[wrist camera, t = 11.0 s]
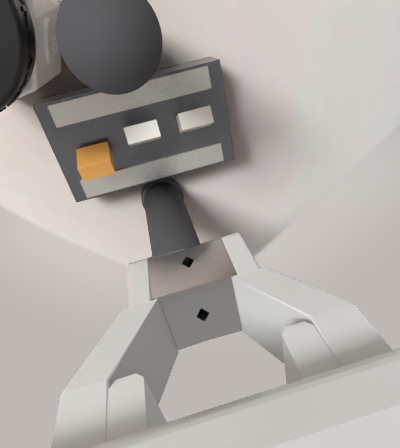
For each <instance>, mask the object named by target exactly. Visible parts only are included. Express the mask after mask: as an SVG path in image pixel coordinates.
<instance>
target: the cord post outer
mask: <svg viewBox="0 0 400 448" xmlns="http://www.w3.org/2000/svg"><path fill="white" fill-rule="evenodd" d="M141 197H142V204H143V207H144V209H145V210H146V217H147V223H148V230H149V236H150V243H151V249H152V256H153V257H154V256H158V255H161V254H165V253H169V252H172V251H176V250H180V249H185V248H189V247H192V246H195V245H198V244H200V242H199V240H198V237H197V234H196V232H195V229H194V227H193V224H192V221H191V219H190V216H189V214H188V211H187V208H186V206H185V203H184V201H183V199H184V198H183V192H182V190H181V188H180V186H179V184H178V183H177V182H176V181H174V180H173V179H171V178H164V179H160V180H156V181H153V182H149V183H147V184H146V185H145V187H144V188H143V191H142V196H141Z"/></svg>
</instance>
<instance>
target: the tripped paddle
mask: <svg viewBox="0 0 400 448" xmlns="http://www.w3.org/2000/svg"><path fill="white" fill-rule="evenodd" d="M76 153H77V170H78V172H79V173H80V175H81V177H82V179H83V181H88V180H91V179H95V178H99V177H102V176H106V175H110V174H113V173H115V167H114V161H113V155H112V152H111V149H110V147H109V144H108V142H107V141H106V142H102V143H99V144H95V145H91V146H87V147H83V148H79V149H76Z"/></svg>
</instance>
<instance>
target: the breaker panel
mask: <svg viewBox="0 0 400 448" xmlns="http://www.w3.org/2000/svg"><path fill="white" fill-rule="evenodd" d="M209 105H210V107H211V112H212V116H213V120H214V122H213V123H212V124H211V125H209V126H206V127H202V128H198V129H195V130H191V131H187V132H183V133H180V131H179V128H178V124H177V120H176V117H177V115H178V113H182V112H186V111H190V110H194V109H198V108H202V107H205V106H209ZM33 108H34V110H35V112H36V115H37V117H38V119H39V121H40V123H41V126H42V128H43V130H44V132H45V134H46V136H47V139H48V141H49V143H50V145H51V147H52V150H53V152H54V154H55V156H56V158H57V161H58V163H59V165H60V167H61V169H62V172H63V174H64V176H65V178H66V180H67V182H68V185H69V187H70V189H71V191H72V193H73V196H74V198H75V200H76V202H80V201H84V200H87V199H91V198H95V197H98V196H102V195H106V194H109V193H113V192H116V191H120V190H124V189H127V188H131V187H135V186H138V185H142V184H146V183H149V182H153V181H156V180H160V179H164V178H167V177H171V176H175V175H178V174H182V173H186V172H189V171H193V170H197V169H200V168H204V167H207V166H211V165H215V164H218V163H222V162H226V161H229V160H233V159H234V152H233V146H232V139H231V133H230V126H229V120H228V113H227V106H226V100H225V93H224V87H223V80H222V73H221V67H220V60H219V59H216V58H212V57H208V58H204V59H200V60H196V61H192V62H188V63H184V64H180V65H175V66H171V67H167V68H163V69H159V70H156V71H155V72H154V74H153V76H152V77H151V78H150V79H149V81H148V82H147V83H145V84H144V85H143V86H142V87H140V88H139V89H137V90H135V91H133V92H130V93H127V94H121V95H111V94H105V93H101V92H98V91H96V90H93V89H92V88H90V87H87V88H83V89H79V90H75V91H71V92H67V93H63V94H59V95H55V96H51V97H47V98H43V99H40V100H39V101H38V102H37V103H36V104H35V105H33ZM155 119H156V120H157V124H158V127H159V131H160V135H161V139H157V140H153V141H149V142H146V143H142V144H138V145H134V146H130V145H128V142H127V138H126V135H125V132H124V128H125V127H129V126H132V125H136V124H140V123H144V122H148V121H152V120H155ZM106 141H107V142H108V144H109V147H110V149H111V152H112V155H113V161H114V167H115V173H113V174H110V175H106V176H102V177H99V178H95V179H91V180H88V181H83V179H82V177H81V175H80V173H79V172H78V170H77V153H76V149H79V148H83V147H87V146H91V145H95V144H99V143H102V142H106Z"/></svg>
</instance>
